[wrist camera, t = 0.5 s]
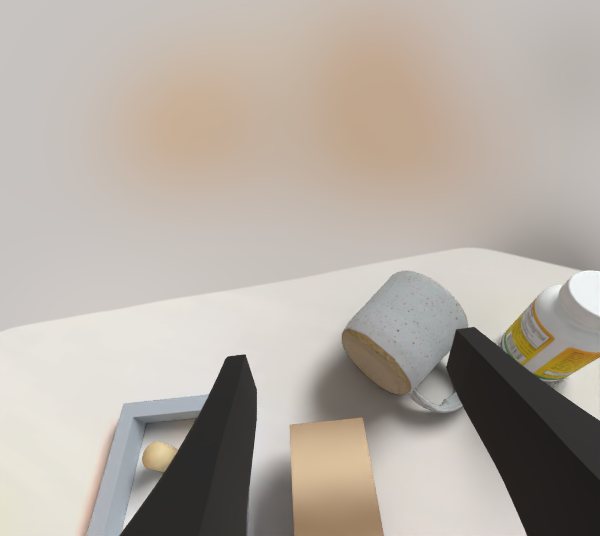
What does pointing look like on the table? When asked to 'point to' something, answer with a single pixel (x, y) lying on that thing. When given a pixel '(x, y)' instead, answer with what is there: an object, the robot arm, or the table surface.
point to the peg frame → (136, 457)
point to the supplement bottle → (558, 329)
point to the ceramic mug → (405, 335)
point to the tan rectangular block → (333, 480)
